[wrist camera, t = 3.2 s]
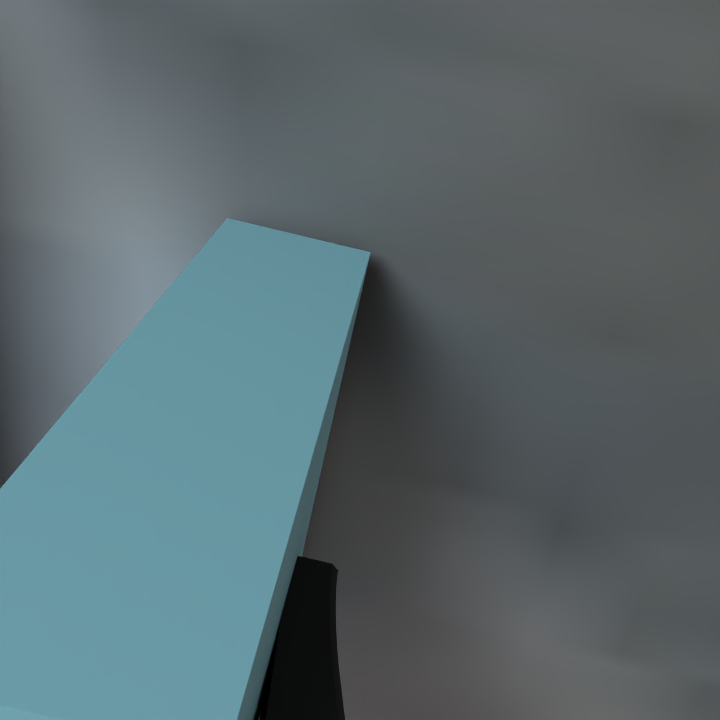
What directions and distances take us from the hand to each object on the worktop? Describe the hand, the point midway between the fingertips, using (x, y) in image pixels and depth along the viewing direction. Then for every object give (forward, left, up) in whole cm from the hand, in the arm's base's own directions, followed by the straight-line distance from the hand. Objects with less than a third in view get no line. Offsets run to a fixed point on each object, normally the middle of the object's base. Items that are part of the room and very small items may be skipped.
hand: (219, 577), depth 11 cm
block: (0, 0, -3) cm, 3 cm away
